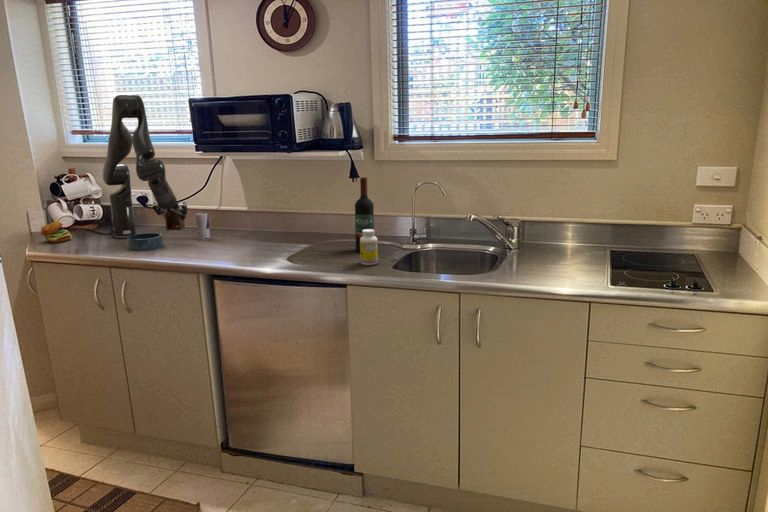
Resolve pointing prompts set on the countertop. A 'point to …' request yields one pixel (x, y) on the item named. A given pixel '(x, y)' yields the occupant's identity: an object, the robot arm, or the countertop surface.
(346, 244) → the countertop surface
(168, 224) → the brown block
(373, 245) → the supplement bottle
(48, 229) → the cheeseburger
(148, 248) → the bowl
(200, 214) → the energy drink
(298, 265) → the countertop surface
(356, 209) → the wine bottle
